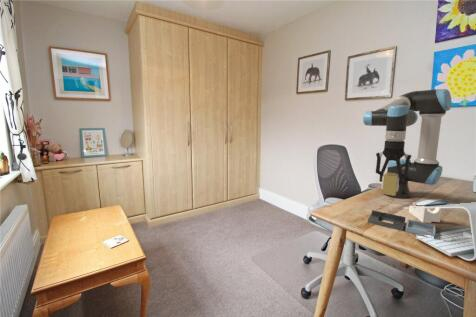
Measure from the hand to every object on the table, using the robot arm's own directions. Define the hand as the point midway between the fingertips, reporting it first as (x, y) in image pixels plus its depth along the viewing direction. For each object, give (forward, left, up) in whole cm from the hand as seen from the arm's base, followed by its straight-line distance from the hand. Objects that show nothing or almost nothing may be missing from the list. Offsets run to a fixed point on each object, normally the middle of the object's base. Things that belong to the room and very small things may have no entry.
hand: (389, 189), depth 109 cm
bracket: (-19, +13, -17) cm, 29 cm away
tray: (0, +13, -17) cm, 21 cm away
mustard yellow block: (0, 0, -2) cm, 2 cm away
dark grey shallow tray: (0, 0, -17) cm, 17 cm away
